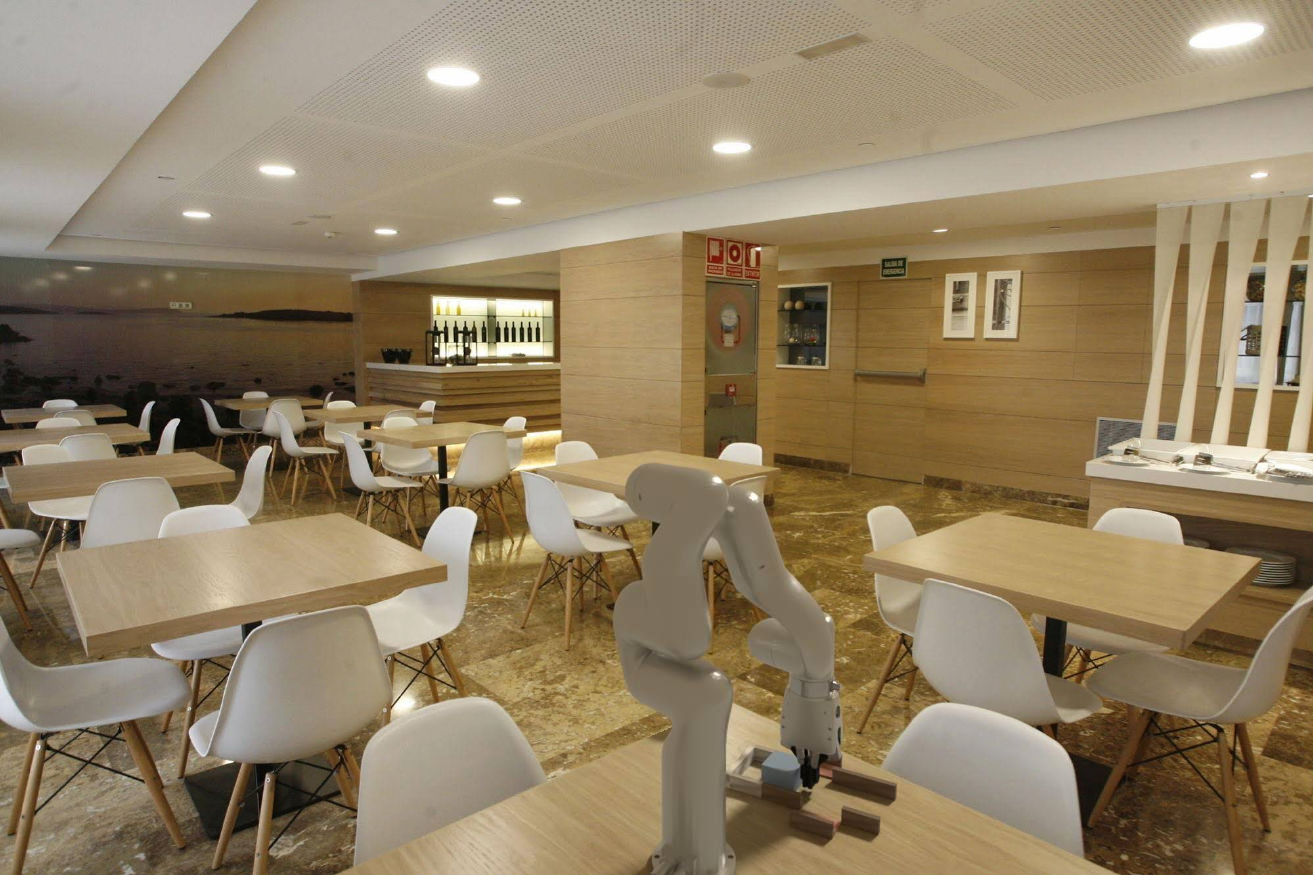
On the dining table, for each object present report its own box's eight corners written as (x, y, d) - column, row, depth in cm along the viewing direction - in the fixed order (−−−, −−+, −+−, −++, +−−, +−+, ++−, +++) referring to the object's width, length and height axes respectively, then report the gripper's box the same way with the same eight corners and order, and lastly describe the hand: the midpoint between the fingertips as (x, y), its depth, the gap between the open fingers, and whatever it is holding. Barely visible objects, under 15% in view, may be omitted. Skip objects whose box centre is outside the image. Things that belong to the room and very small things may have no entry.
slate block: (793, 796, 131) (793, 774, 131) (761, 785, 135) (761, 764, 134) (805, 779, 136) (806, 758, 136) (774, 770, 140) (775, 749, 139)
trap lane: (870, 851, 116) (870, 836, 116) (712, 800, 130) (712, 786, 130) (902, 783, 135) (903, 770, 134) (761, 745, 148) (761, 732, 148)
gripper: (860, 685, 130) (858, 786, 132) (778, 667, 137) (777, 763, 139) (847, 702, 123) (845, 808, 125) (762, 682, 131) (761, 782, 133)
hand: (809, 784), depth 132 cm, fingers closed
